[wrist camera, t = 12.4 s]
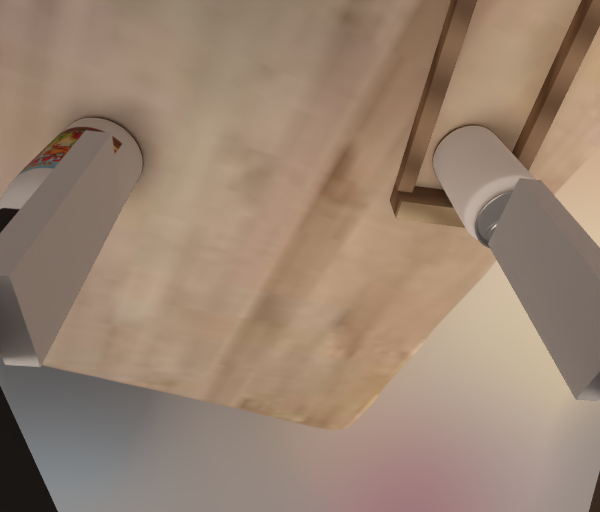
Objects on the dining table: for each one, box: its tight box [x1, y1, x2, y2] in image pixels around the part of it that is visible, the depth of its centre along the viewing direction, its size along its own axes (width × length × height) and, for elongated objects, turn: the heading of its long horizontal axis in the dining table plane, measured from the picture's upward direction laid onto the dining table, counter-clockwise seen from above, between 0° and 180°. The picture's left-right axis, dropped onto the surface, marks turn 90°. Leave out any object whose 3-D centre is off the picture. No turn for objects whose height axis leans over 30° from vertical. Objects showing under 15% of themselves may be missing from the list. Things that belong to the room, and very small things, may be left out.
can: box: [433, 126, 536, 248], centre depth 41 cm, size 6×6×12 cm
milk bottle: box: [0, 118, 143, 209], centre depth 37 cm, size 8×8×20 cm
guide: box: [390, 0, 600, 228], centre depth 41 cm, size 24×12×4 cm, turn 171°
